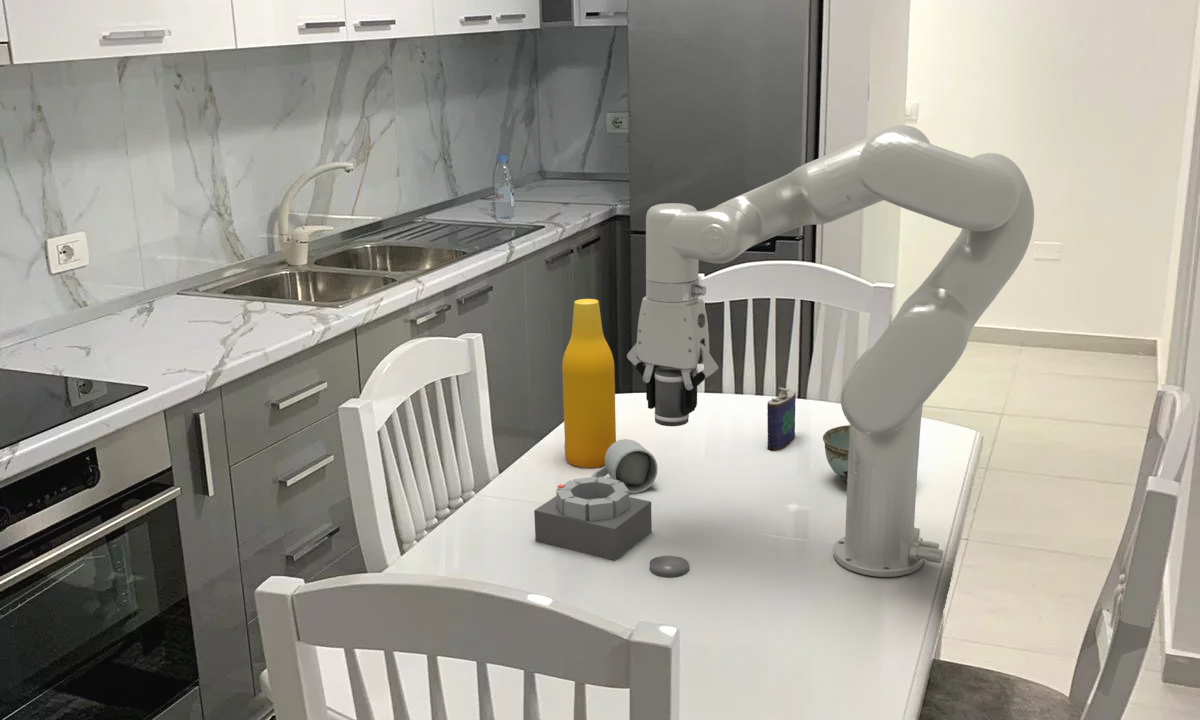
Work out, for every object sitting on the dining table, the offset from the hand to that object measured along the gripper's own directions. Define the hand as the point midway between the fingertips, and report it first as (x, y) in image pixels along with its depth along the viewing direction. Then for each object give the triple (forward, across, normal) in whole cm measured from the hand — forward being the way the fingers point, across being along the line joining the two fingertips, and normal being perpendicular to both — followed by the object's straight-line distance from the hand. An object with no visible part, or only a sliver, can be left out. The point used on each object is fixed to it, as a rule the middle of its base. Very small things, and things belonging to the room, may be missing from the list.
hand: (671, 408), depth 171 cm
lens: (+2, 0, 0) cm, 2 cm away
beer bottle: (+20, +26, -19) cm, 38 cm away
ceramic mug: (+20, +15, -11) cm, 27 cm away
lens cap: (+20, -6, +12) cm, 24 cm away
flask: (+20, 0, -42) cm, 47 cm away
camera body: (+20, +9, +8) cm, 23 cm away
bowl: (+20, -20, -32) cm, 42 cm away
